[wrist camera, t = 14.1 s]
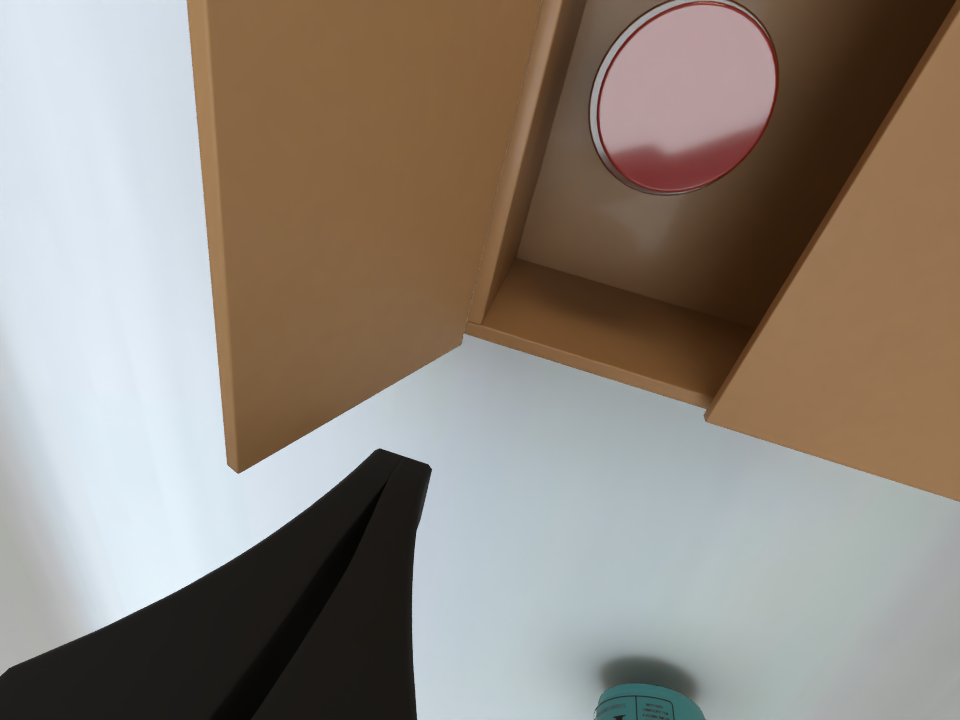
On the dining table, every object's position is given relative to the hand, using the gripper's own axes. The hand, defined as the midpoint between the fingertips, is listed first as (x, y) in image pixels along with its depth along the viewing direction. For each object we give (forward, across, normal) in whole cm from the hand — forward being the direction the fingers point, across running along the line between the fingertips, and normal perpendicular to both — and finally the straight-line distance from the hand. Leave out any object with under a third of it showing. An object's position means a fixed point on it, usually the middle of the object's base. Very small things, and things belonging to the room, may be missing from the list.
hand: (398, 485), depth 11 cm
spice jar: (+9, -4, -9) cm, 13 cm away
